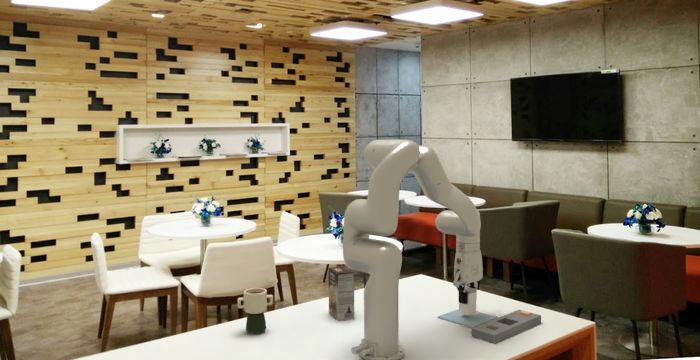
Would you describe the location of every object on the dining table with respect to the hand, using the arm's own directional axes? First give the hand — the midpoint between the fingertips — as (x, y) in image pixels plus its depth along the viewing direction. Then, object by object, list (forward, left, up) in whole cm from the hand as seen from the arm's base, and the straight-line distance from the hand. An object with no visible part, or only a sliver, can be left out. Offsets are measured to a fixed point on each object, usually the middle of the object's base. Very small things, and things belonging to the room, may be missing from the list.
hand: (467, 301), depth 182 cm
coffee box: (-29, +30, -6) cm, 42 cm away
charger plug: (0, 0, -4) cm, 4 cm away
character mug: (-58, +37, -6) cm, 69 cm away
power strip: (0, -15, -6) cm, 16 cm away
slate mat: (0, 0, -6) cm, 6 cm away
